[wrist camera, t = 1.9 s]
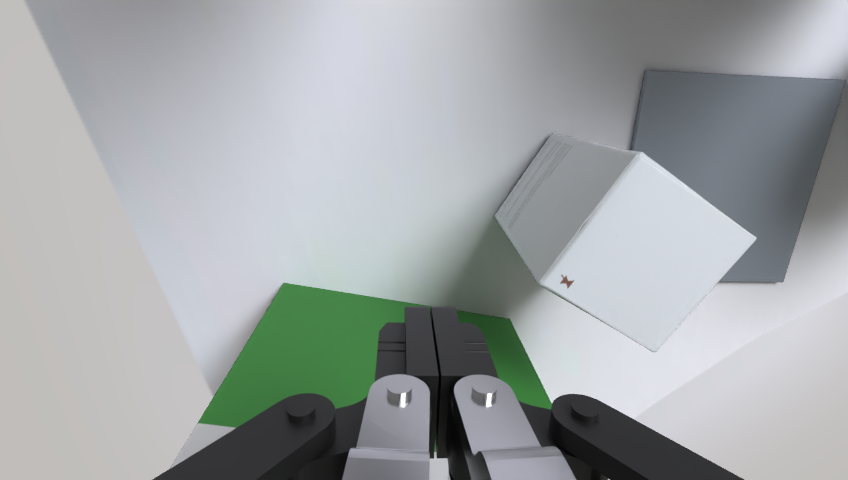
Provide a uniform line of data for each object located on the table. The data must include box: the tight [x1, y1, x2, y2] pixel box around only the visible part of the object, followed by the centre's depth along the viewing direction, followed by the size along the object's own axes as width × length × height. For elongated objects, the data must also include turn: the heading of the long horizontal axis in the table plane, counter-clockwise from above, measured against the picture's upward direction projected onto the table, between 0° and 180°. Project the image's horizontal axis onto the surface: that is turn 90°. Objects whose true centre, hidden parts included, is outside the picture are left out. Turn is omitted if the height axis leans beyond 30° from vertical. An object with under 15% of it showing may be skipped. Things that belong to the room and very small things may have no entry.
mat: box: [631, 71, 846, 282], centre depth 33 cm, size 15×14×1 cm
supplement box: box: [495, 133, 756, 352], centre depth 26 cm, size 7×7×13 cm
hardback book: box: [170, 283, 552, 480], centre depth 24 cm, size 18×7×24 cm, turn 79°
